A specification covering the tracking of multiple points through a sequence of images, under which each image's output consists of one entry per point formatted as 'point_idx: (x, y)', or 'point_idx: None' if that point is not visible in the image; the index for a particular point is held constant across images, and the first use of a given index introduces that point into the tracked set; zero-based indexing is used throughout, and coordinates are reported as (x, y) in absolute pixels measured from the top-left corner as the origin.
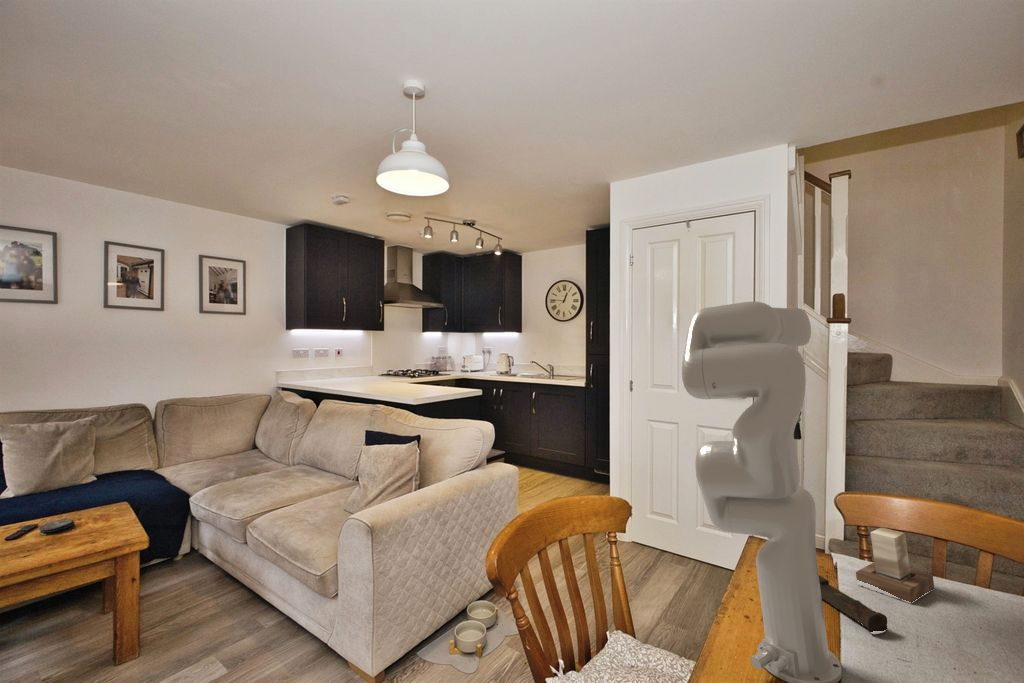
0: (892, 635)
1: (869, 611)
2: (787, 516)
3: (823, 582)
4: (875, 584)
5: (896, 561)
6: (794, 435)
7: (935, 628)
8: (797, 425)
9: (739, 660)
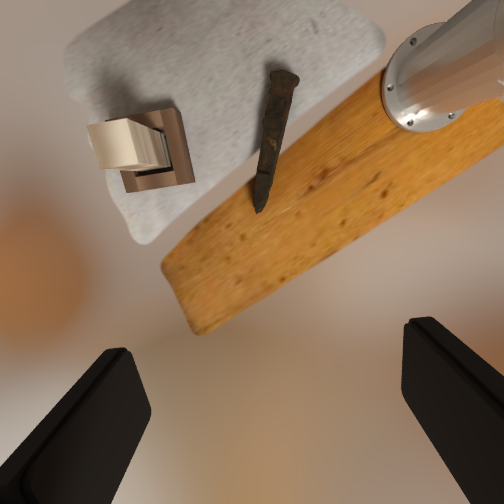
0: None
1: (282, 88)
2: None
3: (267, 173)
4: (187, 156)
5: (147, 129)
6: (125, 392)
7: (211, 56)
8: (47, 453)
9: (477, 123)
